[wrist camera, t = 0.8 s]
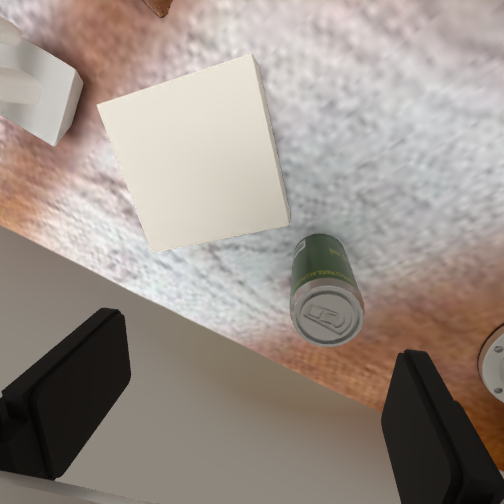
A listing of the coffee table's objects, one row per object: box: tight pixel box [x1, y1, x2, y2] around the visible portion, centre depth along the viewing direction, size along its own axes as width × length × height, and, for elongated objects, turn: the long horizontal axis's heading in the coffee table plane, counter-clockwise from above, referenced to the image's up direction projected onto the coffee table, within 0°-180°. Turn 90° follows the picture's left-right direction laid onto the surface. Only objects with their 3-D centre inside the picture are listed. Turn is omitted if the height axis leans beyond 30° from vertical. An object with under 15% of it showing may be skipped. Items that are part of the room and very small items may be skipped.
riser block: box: [97, 53, 291, 253], centre depth 29 cm, size 14×14×4 cm
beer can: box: [290, 234, 364, 347], centre depth 28 cm, size 5×5×12 cm
